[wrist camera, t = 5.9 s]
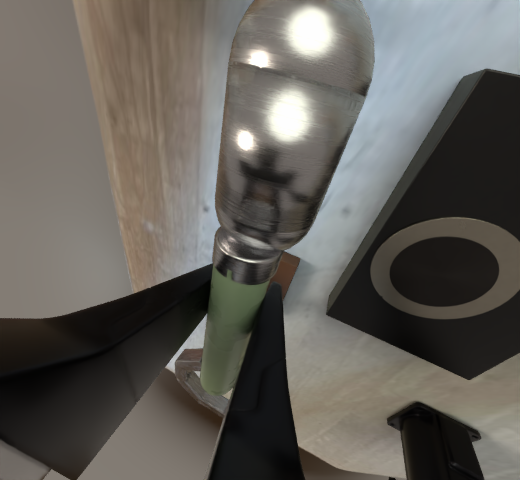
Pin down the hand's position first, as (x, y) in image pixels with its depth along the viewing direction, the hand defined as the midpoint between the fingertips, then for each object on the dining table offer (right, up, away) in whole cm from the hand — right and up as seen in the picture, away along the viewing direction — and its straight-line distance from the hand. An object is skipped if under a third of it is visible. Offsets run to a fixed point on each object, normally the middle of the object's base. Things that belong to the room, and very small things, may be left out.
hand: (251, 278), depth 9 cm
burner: (+12, 0, +5) cm, 13 cm away
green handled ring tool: (0, -1, +2) cm, 2 cm away
